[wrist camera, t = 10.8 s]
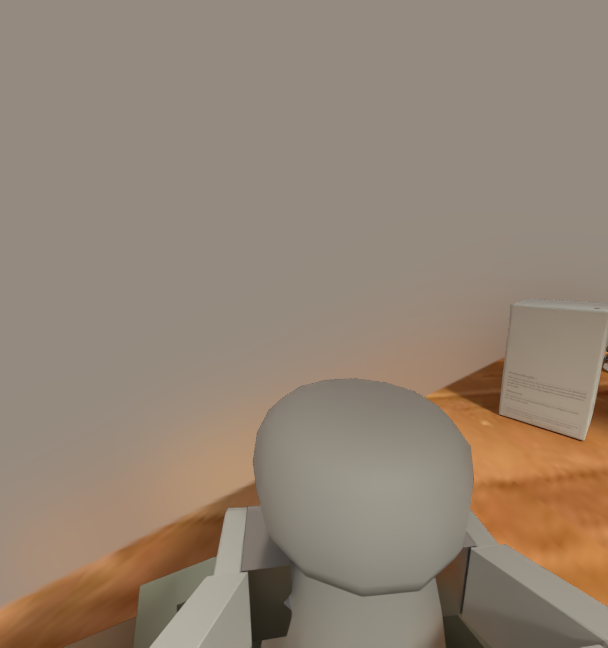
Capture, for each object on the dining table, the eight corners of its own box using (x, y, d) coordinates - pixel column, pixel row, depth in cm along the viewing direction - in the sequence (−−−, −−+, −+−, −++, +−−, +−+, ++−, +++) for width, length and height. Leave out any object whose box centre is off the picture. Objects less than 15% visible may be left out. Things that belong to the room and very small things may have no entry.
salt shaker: (235, 713, 10) (209, 369, 8) (376, 648, 12) (392, 348, 10) (268, 1202, 5) (218, 606, 2) (513, 958, 7) (638, 458, 4)
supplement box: (593, 416, 32) (617, 302, 30) (584, 443, 27) (611, 310, 25) (513, 394, 38) (528, 297, 35) (494, 414, 33) (509, 302, 30)
